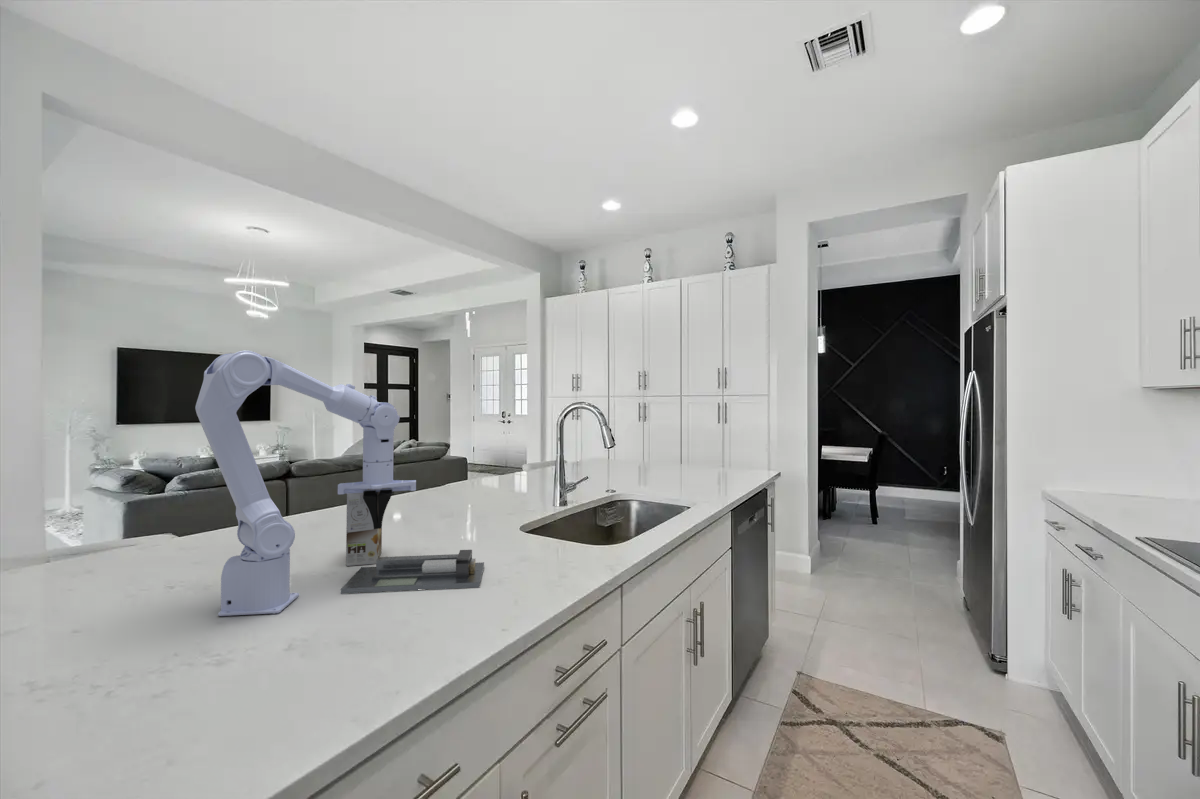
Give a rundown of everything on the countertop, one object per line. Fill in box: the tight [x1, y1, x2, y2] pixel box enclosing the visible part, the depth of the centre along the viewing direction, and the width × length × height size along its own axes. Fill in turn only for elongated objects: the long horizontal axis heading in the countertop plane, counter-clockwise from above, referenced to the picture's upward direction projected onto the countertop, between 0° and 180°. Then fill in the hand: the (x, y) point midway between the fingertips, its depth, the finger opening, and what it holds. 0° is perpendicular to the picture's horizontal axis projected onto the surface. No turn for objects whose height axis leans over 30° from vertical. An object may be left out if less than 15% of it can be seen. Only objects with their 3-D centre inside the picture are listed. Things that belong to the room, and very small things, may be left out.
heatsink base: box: [340, 549, 485, 595], centre depth 102 cm, size 25×12×5 cm, turn 98°
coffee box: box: [345, 489, 383, 567], centre depth 114 cm, size 9×6×16 cm
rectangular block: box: [422, 558, 476, 574], centre depth 103 cm, size 10×3×2 cm, turn 98°
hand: (377, 527), depth 103 cm, fingers closed
